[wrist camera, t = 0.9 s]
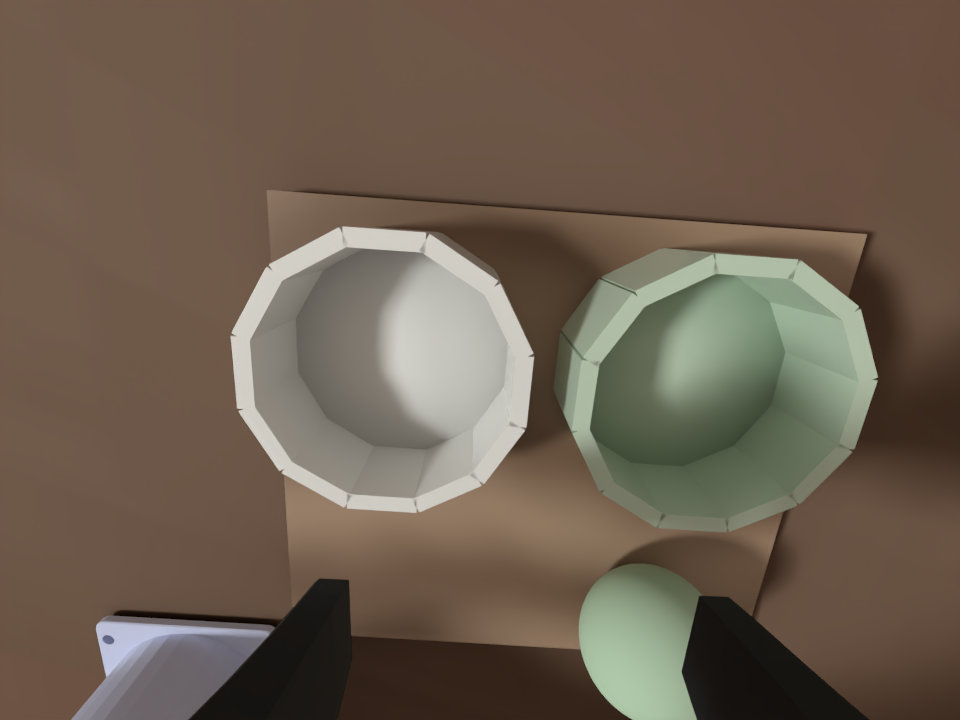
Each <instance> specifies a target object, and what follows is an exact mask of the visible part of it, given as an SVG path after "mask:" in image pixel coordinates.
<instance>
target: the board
mask: <svg viewBox="0 0 960 720" xmlns="http://www.w3.org/2000/svg"><path fill="white" fill-rule="evenodd" d="M267 203H268V219H269V236H270V252H271V263H273V262H274V261H276V260H278V259H280V258H282V257H284V256H286V255H288V254H289V253H291V252H293V251H295V250H297V249H299V248H301V247H303V246H304V245H306V244H308V243H310V242H312V241H314V240H316V239H318V238H319V237H321V236H323V235H325V234H327V233H329V232H331V231H333V230H334V229H336V228H338V227H342V226H346V227H379V228H393V229H407V230H421V231H434V232H439V233H443V234H444V235H446V236H447V237H449V238H450V239H451V240H453V241H454V242H456V243H457V244H459V245H460V246H462V247H463V248H464V249H466V250H467V251H469V252H470V253H472V254H473V255H475V256H476V257H477V258H479V259H480V260H482V261H483V262H485V263H486V264H488V265H489V266H491V267H492V268H493V269H495V272H497V274H498V276H499V278H500V280H501V282H502V284H503V287H504V289H505V291H506V293H507V295H508V297H509V299H510V301H511V304H512V306H513V308H514V310H515V312H516V314H517V316H518V318H519V321H520V323H521V325H522V327H523V329H524V332H525V334H526V337H527V339H528V341H529V344H530V346H531V349H532V351H533V355H534V363H533V372H532V381H531V390H530V400H529V409H528V418H527V427H526V428H525V432H524V433H523V434H522V435H521V437H520V438H519V439H518V441H517V442H516V443H515V445H514V446H513V447H512V448H511V450H510V451H509V452H508V454H507V455H506V456H505V458H504V459H503V460H502V461H501V463H500V464H499V465H498V467H497V468H496V469H495V470H494V472H493V473H492V474H491V476H490V477H489V478H488V480H487V481H486V482H485V483H484V484H483V483H482V486H480V487H478V488H476V489H473V490H471V491H469V492H466V493H464V494H461V495H459V496H457V497H454V498H452V499H450V500H447V501H445V502H443V503H440V504H438V505H436V506H433V507H431V508H429V509H426V510H424V511H422V512H419V511H418V509H417V512H416V513H409V512H393V511H377V510H362V509H347V504H346V505H345V507H342V506H340V505H338V504H336V503H335V502H333V501H331V500H329V499H327V498H326V497H324V496H322V495H320V494H318V493H317V492H315V491H313V490H311V489H309V488H308V487H306V486H304V485H302V484H300V483H299V482H297V481H295V480H293V479H291V478H290V477H288V476H286V475H284V483H285V499H286V516H287V532H288V549H289V565H290V582H291V598H292V608H293V607H294V606H295V605H296V604H297V602H298V601H299V600H300V599H301V598H302V596H303V595H304V594H305V593H306V592H307V591H308V589H309V588H310V587H311V586H312V585H313V584H314V582H316V581H317V580H318V579H319V578H322V579H344V580H349V590H350V616H351V636H361V637H378V638H395V639H412V640H429V641H446V642H463V643H480V644H497V645H514V646H531V647H548V648H566V649H581V648H580V642H579V619H580V613H581V609H582V606H583V603H584V600H585V598H586V596H587V594H588V592H589V591H590V589H591V588H592V586H593V585H594V584H595V582H596V581H597V580H598V579H599V578H601V577H602V576H603V575H605V574H606V573H607V572H609V571H611V570H612V569H615V568H617V567H620V566H623V565H628V564H651V565H656V566H659V567H662V568H665V569H668V570H670V571H672V572H674V573H676V574H678V575H679V576H681V577H682V578H684V579H685V580H687V581H688V582H689V583H691V584H692V585H693V586H694V587H695V588H696V589H697V590H698V591H699V592H700V593H701V594H702V595H703V596H720V597H729V598H731V599H732V600H733V601H734V602H735V603H736V604H738V605H739V606H740V607H741V608H742V609H744V610H745V611H746V612H747V613H748V614H749V615H750V616H752V614H753V611H754V607H755V604H756V601H757V597H758V594H759V591H760V587H761V584H762V581H763V577H764V574H765V571H766V568H767V564H768V561H769V558H770V554H771V551H772V548H773V544H774V541H775V538H776V535H777V531H778V528H779V525H780V521H781V518H782V515H783V512H780V513H778V514H775V515H772V516H770V517H767V518H765V519H762V520H759V521H757V522H754V523H751V524H749V525H746V526H744V527H741V528H738V529H736V530H733V531H731V532H729V531H728V530H727V531H726V532H711V531H695V530H679V529H663V528H658V527H657V526H656V527H654V526H653V525H651V524H649V523H648V522H646V521H645V520H643V519H641V518H640V517H638V516H637V515H635V514H633V513H632V512H630V511H628V510H627V509H625V508H624V507H622V506H620V505H619V504H617V503H616V502H614V501H612V500H611V499H609V498H608V497H606V496H604V495H603V494H601V492H600V491H599V489H598V487H597V485H596V483H595V481H594V479H593V477H592V475H591V472H590V470H589V468H588V466H587V464H586V462H585V460H584V457H583V455H582V453H581V451H580V449H579V447H578V445H577V443H576V440H575V438H574V436H573V434H572V432H571V430H570V427H569V425H568V423H567V421H566V418H565V416H564V414H563V412H562V409H561V407H560V405H559V402H558V400H557V398H556V396H555V393H554V390H553V385H554V377H555V369H556V361H557V353H558V345H559V337H560V332H563V331H562V330H561V329H562V328H563V326H564V325H565V323H566V322H567V321H568V319H569V318H570V317H571V315H572V314H573V313H574V311H575V310H576V309H577V307H578V306H579V305H580V303H581V302H582V301H583V299H584V298H585V297H586V295H587V294H588V292H589V291H590V290H591V288H592V287H593V286H594V284H595V283H596V282H597V280H598V279H600V280H602V278H601V277H602V276H604V275H606V274H608V273H610V272H612V271H614V270H617V269H619V268H621V267H623V266H625V265H627V264H629V263H631V262H633V261H636V260H638V259H640V258H642V257H644V256H646V255H648V254H650V253H652V252H654V251H657V250H659V249H663V248H668V249H682V250H696V251H710V252H723V253H735V254H745V255H756V256H766V257H777V258H787V259H798V260H799V261H803V262H804V263H805V264H806V265H808V266H809V267H810V268H811V269H813V270H814V271H815V272H816V273H818V274H819V275H820V276H821V277H823V278H824V279H825V280H826V281H828V282H829V283H830V284H831V285H833V286H834V287H835V288H836V289H838V290H839V291H840V292H842V293H843V294H844V295H845V296H847V297H849V293H850V290H851V287H852V283H853V280H854V277H855V273H856V270H857V267H858V264H859V260H860V257H861V254H862V250H863V247H864V244H865V240H866V237H867V234H857V233H844V232H830V231H817V230H803V229H789V228H776V227H762V226H749V225H735V224H722V223H708V222H694V221H681V220H667V219H654V218H640V217H627V216H613V215H599V214H586V213H572V212H559V211H545V210H532V209H518V208H504V207H491V206H477V205H464V204H450V203H436V202H423V201H409V200H396V199H382V198H369V197H355V196H341V195H328V194H314V193H301V192H287V191H274V190H267Z"/></svg>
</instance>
